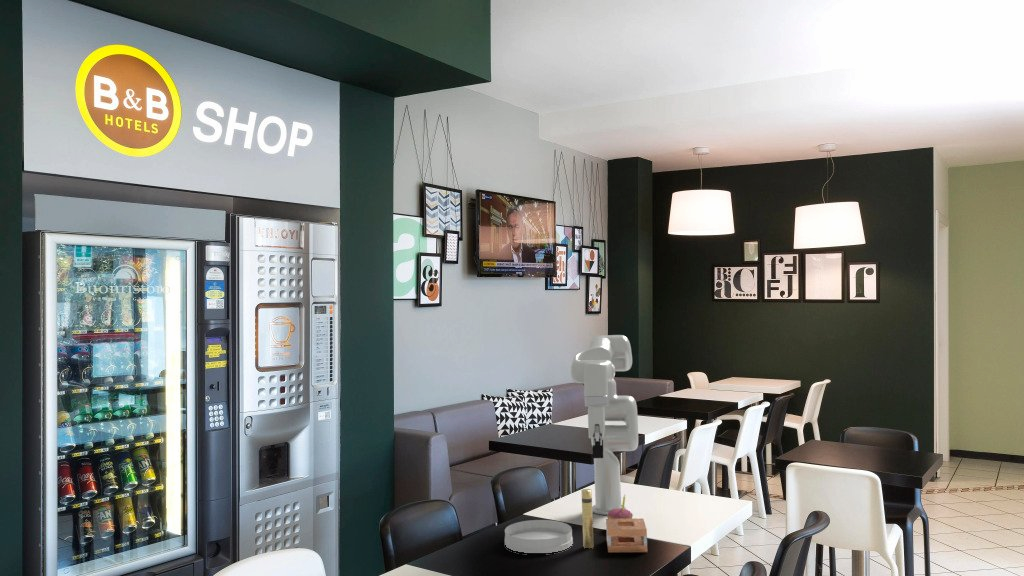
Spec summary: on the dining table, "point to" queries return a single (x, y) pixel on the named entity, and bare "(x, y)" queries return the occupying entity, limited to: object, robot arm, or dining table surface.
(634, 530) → the collar stand
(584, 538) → the air tube
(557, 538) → the dish
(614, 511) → the cupcake
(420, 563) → the dining table surface
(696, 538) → the dining table surface
